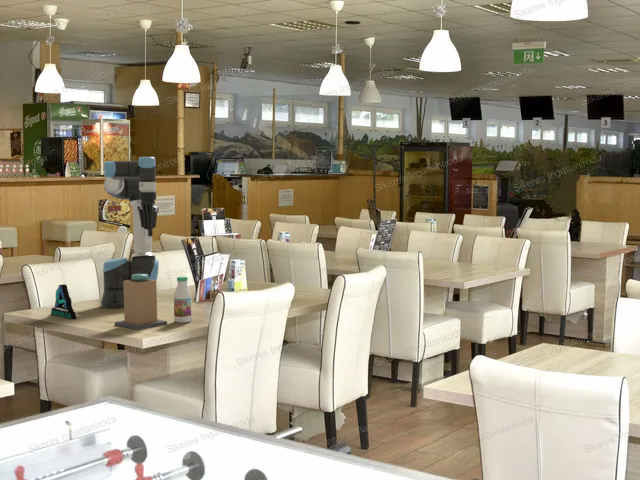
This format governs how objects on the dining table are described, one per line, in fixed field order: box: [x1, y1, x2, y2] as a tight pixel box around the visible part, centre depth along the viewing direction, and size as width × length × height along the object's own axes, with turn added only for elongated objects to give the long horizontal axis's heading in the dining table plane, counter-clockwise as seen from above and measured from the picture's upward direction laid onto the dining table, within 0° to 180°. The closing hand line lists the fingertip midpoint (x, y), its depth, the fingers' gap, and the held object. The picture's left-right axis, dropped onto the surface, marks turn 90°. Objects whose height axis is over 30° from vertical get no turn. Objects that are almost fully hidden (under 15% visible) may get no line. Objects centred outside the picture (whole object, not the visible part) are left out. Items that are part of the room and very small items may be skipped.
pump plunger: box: [132, 274, 149, 282], centre depth 388 cm, size 10×7×19 cm
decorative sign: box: [50, 284, 77, 320], centre depth 411 cm, size 19×2×15 cm, turn 45°
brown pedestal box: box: [114, 279, 168, 331], centre depth 389 cm, size 16×16×20 cm
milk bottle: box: [173, 276, 193, 324], centre depth 397 cm, size 8×8×20 cm
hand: (148, 243), depth 404 cm, fingers closed
